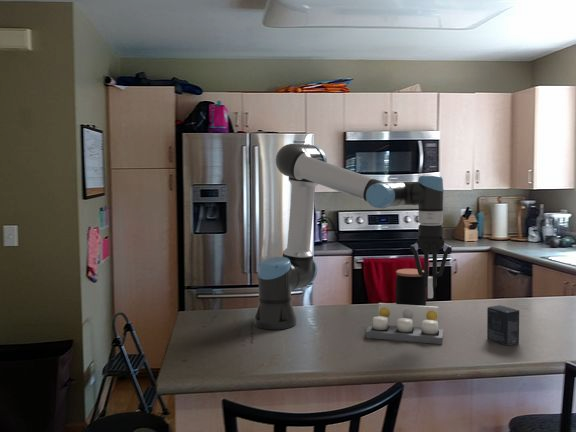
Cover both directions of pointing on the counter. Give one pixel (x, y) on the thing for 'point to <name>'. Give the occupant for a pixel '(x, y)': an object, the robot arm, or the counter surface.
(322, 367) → the counter surface
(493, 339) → the box
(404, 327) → the button mid
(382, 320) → the button left
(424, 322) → the button right
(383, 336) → the board
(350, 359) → the counter surface
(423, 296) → the coffee jar
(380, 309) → the pattern card
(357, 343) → the counter surface
